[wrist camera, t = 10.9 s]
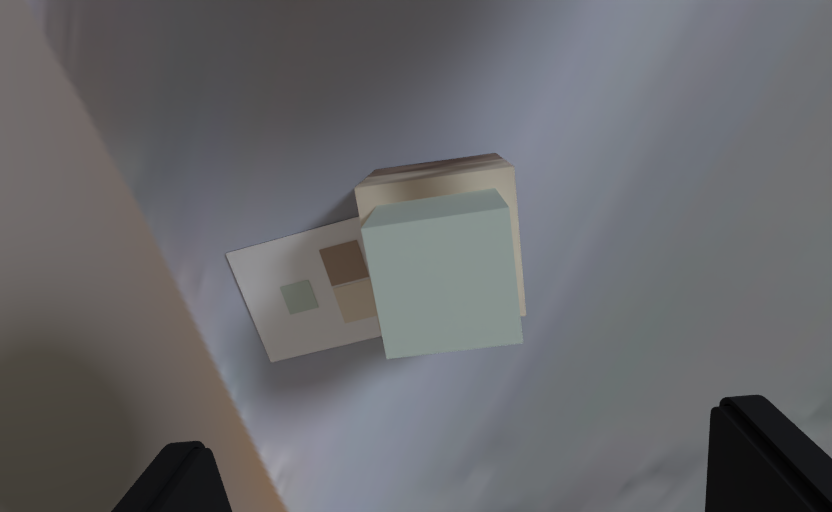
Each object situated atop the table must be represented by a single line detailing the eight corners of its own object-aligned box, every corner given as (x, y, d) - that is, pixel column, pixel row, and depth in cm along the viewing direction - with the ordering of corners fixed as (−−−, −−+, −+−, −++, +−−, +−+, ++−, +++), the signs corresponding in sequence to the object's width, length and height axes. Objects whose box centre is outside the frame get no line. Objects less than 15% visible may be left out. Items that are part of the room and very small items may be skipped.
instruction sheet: (386, 208, 32) (385, 209, 32) (422, 325, 34) (422, 326, 34) (226, 252, 34) (224, 254, 33) (271, 361, 36) (270, 363, 36)
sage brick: (494, 187, 23) (509, 207, 19) (507, 298, 25) (523, 343, 20) (376, 205, 24) (360, 228, 19) (396, 313, 26) (386, 359, 21)
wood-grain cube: (495, 152, 31) (513, 166, 23) (506, 268, 33) (525, 315, 25) (375, 169, 31) (354, 188, 24) (393, 281, 34) (379, 331, 26)
